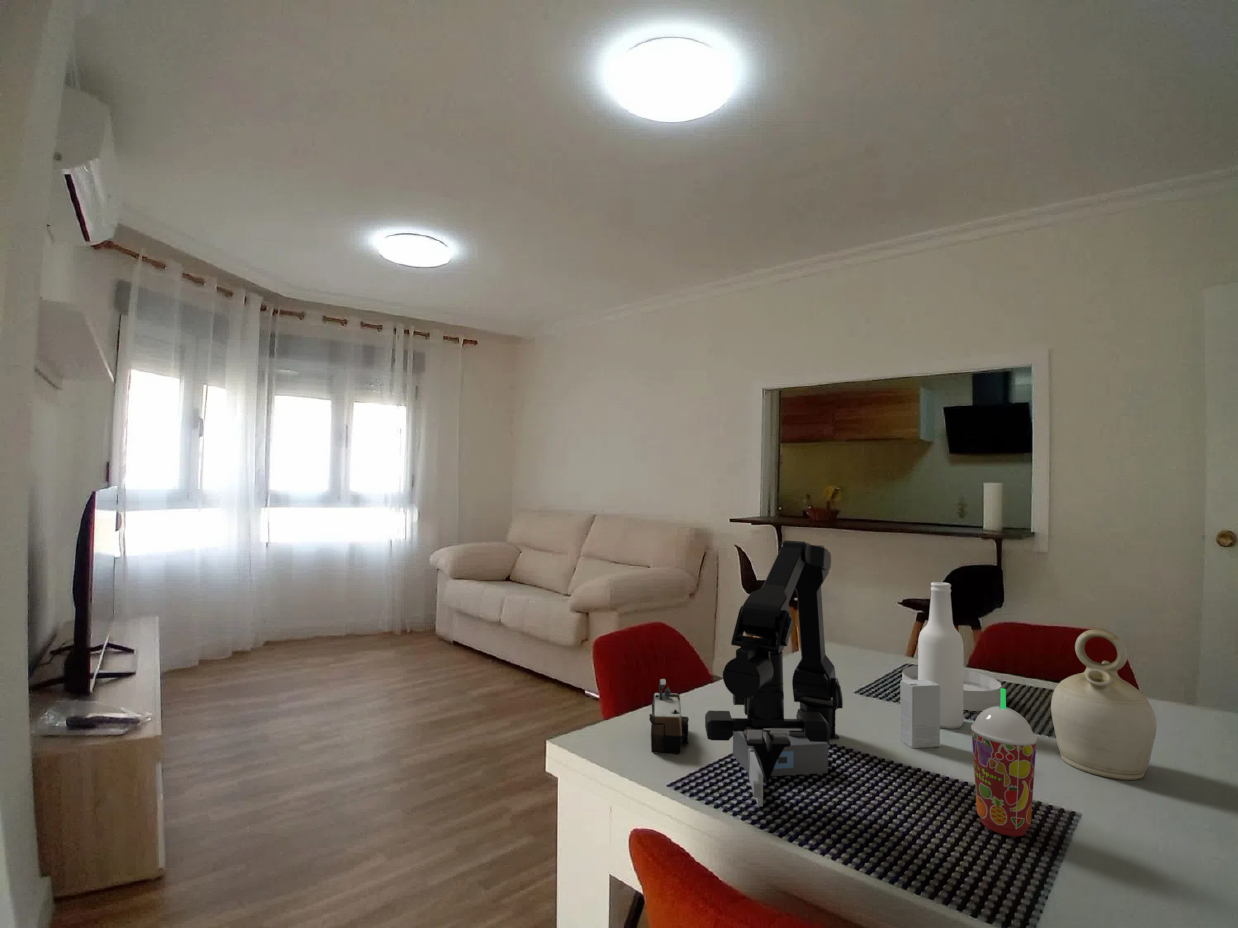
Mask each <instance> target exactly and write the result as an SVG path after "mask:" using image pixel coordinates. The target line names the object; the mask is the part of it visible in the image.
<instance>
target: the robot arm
mask: <svg viewBox="0 0 1238 928" xmlns="http://www.w3.org/2000/svg"><path fill="white" fill-rule="evenodd" d="M777 552H778V553H777V555H776V556H775V557H776V558H775V559H774V562H773V564H772V566H771V567H770V569H769V572H768V575H767V576H766V578H765V581H764V583H763V585H762V587H761V588H759V589H756V590H754V591H752V592H750V593H749V595H748V596H747V598H746V600H745V601H744V602H743V604H742V605H741V606H740V608H739V611H738V615H737V617H736V623H735V627H734V629H733V630H734V631H733V634H732V638H731V642H730V644H731V645H730V646H735V647H738V648H737V649H735V657H733V658H732V659H730V660H729V661H728V662H727V663H726V665H724V669H723V670H722V680H723V683H724V685H725V688H726V689H727V691H729V693H730V694H732V703H733V706H743V711H744V712H743V713H744V715H745V716H746V718H745V717H744V718H742V717H741V718H740V717H739V718H737V717H732V714H731V712H730V710H708V711H706V713H705V714H704V718H705V719H704V722H705V723H704V724H705V725H704V727H705V733H706V737H707V740H710V741H723V742H724V741H727V742H728V741H730V739H731V738H733V731H743V735H744V738H745V741H746V744H747V745H748V746H753V747H754V748H755V750H756V752H757V755H758V757H759V760H760V763H761V766H762V769H763V772H764V775H765V776H764V781H765V783H770V779H771V777H772V776H771V774H772V772H773V769H774V767H775V764H776V762H777V760H778V758H779V756H780V755H781V753H782V751H783V749H784V748H785V747H790V746H791V742H790V740H789V738H788V735H789V732H804V735H805V737H806V738H807V739H808V740H809V741H810V742H827V743H828V742H830V741H831V740H839V739H840V735H839V734H837V733H836V714H837V713H836V711H837V710H838V709H843V707H844V703H843V702H844V698H843V692H842V691H843V690H842V688H841V684H840V681H839V679H838V678H837V676H836V668H835V665H834V664H833V662H832V661H831V660H830V658H829V657H828V655H826V644H825V643H826V642H825V629H824V627H825V626H824V613H823V598H822V595H823V594H822V586H823V584H824V582H825V580H826V579H827V577H828V575H829V572H830V569H831V566H832V555H831V552H830V551H829V550H828V549H827V548H825V546H824V545H819V544H818V545H817V544H811V543H809V542H806V541H804V540H783V541H780V542H779V544H778V550H777ZM794 590H795V591H796V601H797V602H796V603H797V615H798V628H799V642H800V653H801V654H800V657H801V659H800V660H799V662H798V664H797V666H796V667H795V669H794V671H793V675H792V679H791V680H792V681H791V682H792V683H791V684H792V694H793V702H795V703H799V708H798V709H797V711H796V715H795V717H796V718H785V696H784V695H785V693H784V663H783V662H784V660H783V659H784V657H783V651H784V649H785V647H787V646H788V643H789V639H790V636H791V634H792V630H793V626H794V619H793V617H792V613H791V610H790V606H789V605H790V604H789V603H790V600H791V598H792V595H793V594H794ZM744 633H745V635H744ZM763 732H766V742H765V739H764V737H763Z"/></svg>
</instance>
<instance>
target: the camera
mask: <svg viewBox="0 0 1238 928" xmlns="http://www.w3.org/2000/svg"><path fill="white" fill-rule="evenodd" d="M658 684H659V686H658V687H659V690H658V691H659V692H655V693H653V700H652V701H651V702H652V703H651V713H649V722H650V726H651V727H650V750H651V753H653V754H667V755H676V756H677V755H680V754H681V753H682V747H685V746H689V716H682V713H681V711H682V709H681V708H682V707H681V696H680V694H679V693H672V692H671V690H670V687H669V686H667V682H666V678H662V679H661V678H660V679H659V683H658ZM666 686H667V687H666ZM664 687H666V688H665V690H664V693H663V689H664Z"/></svg>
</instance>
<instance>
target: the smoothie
mask: <svg viewBox="0 0 1238 928" xmlns="http://www.w3.org/2000/svg"><path fill="white" fill-rule="evenodd" d="M1006 693H1007V689H1006V688H1001V706H995V707H990V708H987V709H985V710H983V711H982V712H979V713H978V715H977V717H976V718H975V720H974V722H973V723H972V724H971V725H970V729H971V740H972V743H971V744H972V759H973V772H974V786H975V787H974V789H975V804H976V813H977V815H978V816H979V817H980V822H981V823H982V825H983V826H984V827H986V828H987V829H988V830H991V831H992V832H994V833H997V834H1000V835H1003V836H1007V837H1022V836H1025V834H1027V830H1028V829H1029V828H1030V827H1031V826H1032V825H1031V824H1032V814H1033V813H1032V811H1033V800H1034V799H1033V796H1034V795H1033V794H1034V780H1035V767H1036V753H1037V742H1038V736H1036V735H1035V734H1034V732H1033V729H1032V727H1031V725H1030V724H1029V722H1028V721H1027V720H1026V718H1024V716H1022V714H1020V713H1019V712H1017V711H1015V710H1014V709H1012V708H1010V707H1007V702H1006V701H1007V700H1006V699H1007V697H1006V696H1007V695H1006Z"/></svg>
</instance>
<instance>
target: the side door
mask: <svg viewBox="0 0 1238 928" xmlns="http://www.w3.org/2000/svg"><path fill="white" fill-rule="evenodd" d="M747 779H748V781H749V783H750V786H751V789H752V796H753V798H755V801H756V804H757V806H758V807H763V805H764V776H763V774H762V771H761V769H760V766H759V763H758V761H757V758H756V756H755V753H754V749H752V748H749V749H748V772H747Z"/></svg>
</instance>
